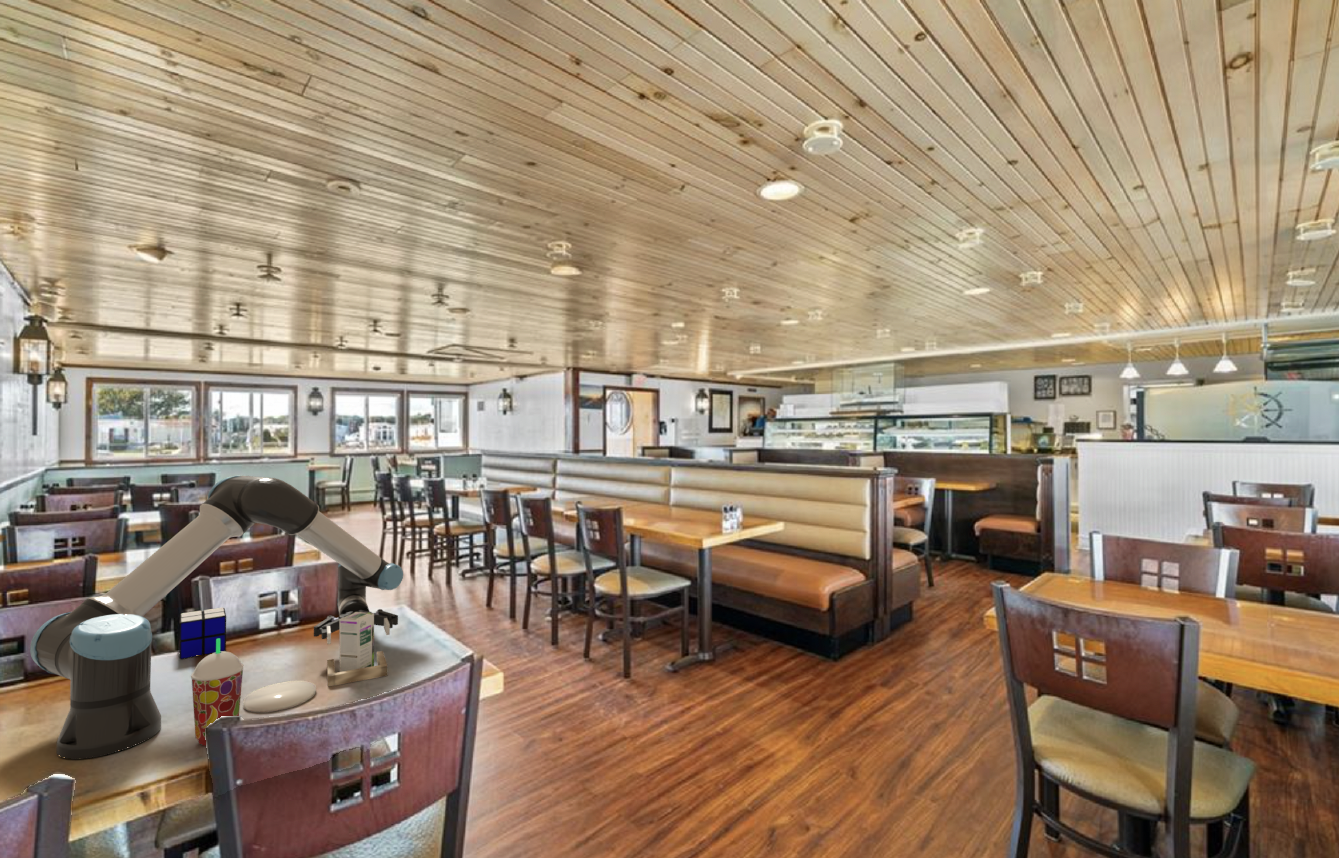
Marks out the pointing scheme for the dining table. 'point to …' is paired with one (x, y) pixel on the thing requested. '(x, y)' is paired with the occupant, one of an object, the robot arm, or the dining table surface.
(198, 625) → the puzzle cube
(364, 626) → the syrup box
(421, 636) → the dining table surface
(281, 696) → the ceramic plate
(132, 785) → the dining table surface
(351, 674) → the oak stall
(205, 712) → the smoothie
